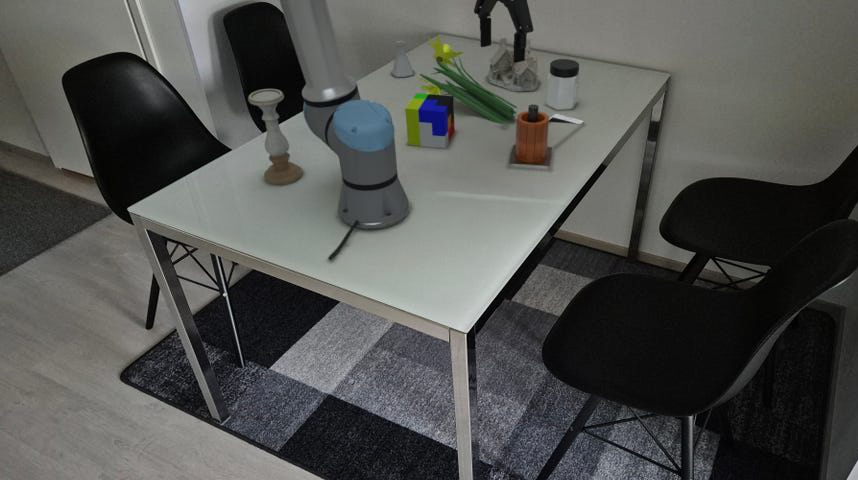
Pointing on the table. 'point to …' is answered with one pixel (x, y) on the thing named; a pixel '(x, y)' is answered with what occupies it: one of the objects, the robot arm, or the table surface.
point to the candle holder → (275, 139)
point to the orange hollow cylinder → (531, 137)
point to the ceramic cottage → (513, 69)
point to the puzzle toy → (430, 120)
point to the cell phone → (564, 119)
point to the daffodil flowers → (466, 87)
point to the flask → (401, 62)
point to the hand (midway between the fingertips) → (502, 53)
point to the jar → (563, 84)
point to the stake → (546, 162)
